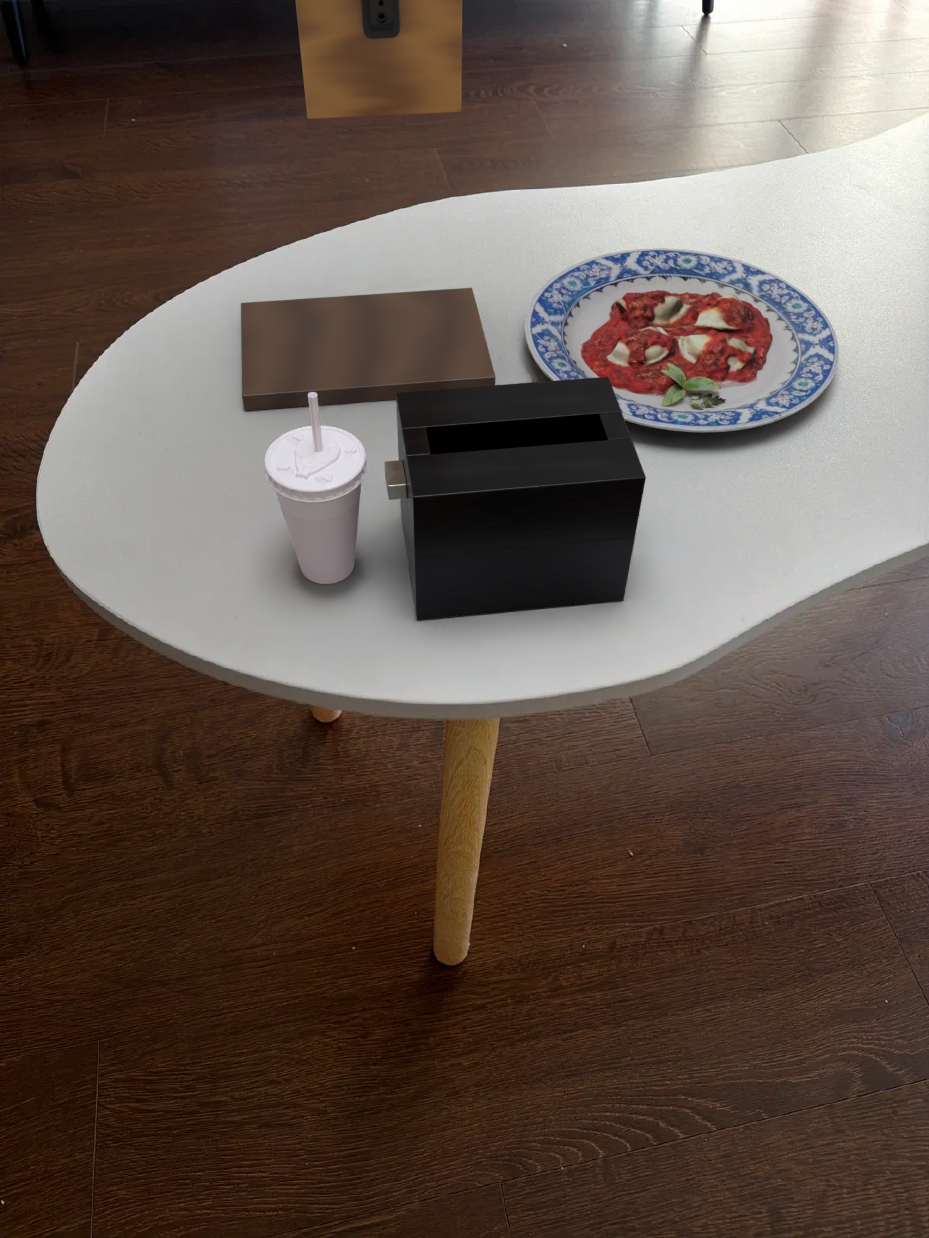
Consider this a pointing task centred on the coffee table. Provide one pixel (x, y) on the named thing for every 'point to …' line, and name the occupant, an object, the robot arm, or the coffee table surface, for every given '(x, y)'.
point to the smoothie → (319, 494)
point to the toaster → (515, 496)
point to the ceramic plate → (684, 338)
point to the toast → (380, 60)
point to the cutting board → (361, 347)
